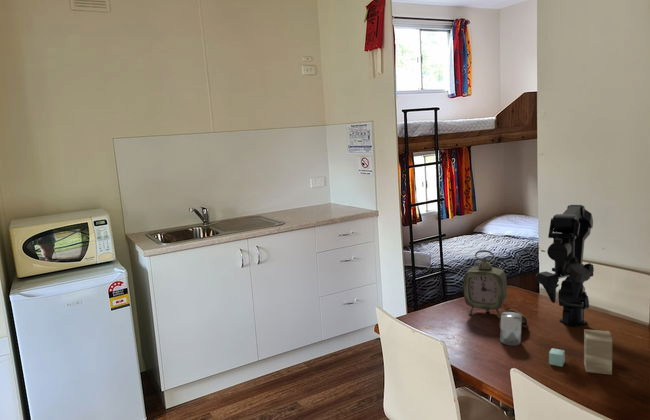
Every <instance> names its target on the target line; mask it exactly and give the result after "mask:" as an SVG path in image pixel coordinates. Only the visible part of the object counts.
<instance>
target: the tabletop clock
mask: <svg viewBox="0 0 650 420" xmlns="http://www.w3.org/2000/svg"><path fill="white" fill-rule="evenodd" d="M479 253H489V254H491V256H492V257H491V258H489V259H487V257H483V258H480V257H478V256H477V254H479ZM474 257H475V258H476V259H477V260H478V261H481V262H479V264H478V265H477V266H473V267H470V268H469V269H468V270H467V272H465V274H464V276H463V284H462V285H463V286H462V289H463V290H462V291H463V298H464V301H465V303H466V305H467V306H469V307H471V308H470V309H469V310H468V311H467V313H468V314H469V315H472V314H473V313H474V312H473V310H474V308H476V309H482V310H485V312H486V313H489V312H490V310H495V311H496V312H497V314H496V317H497V318H498V319H499V316H500V315H501V312H500V311H499V309H501V307H503V304H504V303H505V301H506V299H507V294H508V283H507V275H506V273H505V270H503V269H501V268H498V267H493V265H492V264H491V263H490V262H491V261H493V260H494V259H495V255H494V253H493V252H491V250H486V249H481V250H478V251H476V252H475V254H474Z"/></svg>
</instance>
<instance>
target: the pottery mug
mask: <svg viewBox="0 0 650 420" xmlns="http://www.w3.org/2000/svg"><path fill="white" fill-rule="evenodd" d="M503 312H515V313H518V314H520V315H521V316H522V324H521V326H522V327H526V328H527V330H528V331H530V325H529V323H528V320H527V318H526V316H525V315H524V314H523V313H521V312H520V311H518V310H516V309H515V308H511V307H508V308H506V309H505V310H504V311H502V312H501V313H503ZM498 319H499V321H498V322H499V323H498V326H499V327H498V328H500V327H501V315H500V316H499V318H498Z"/></svg>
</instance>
